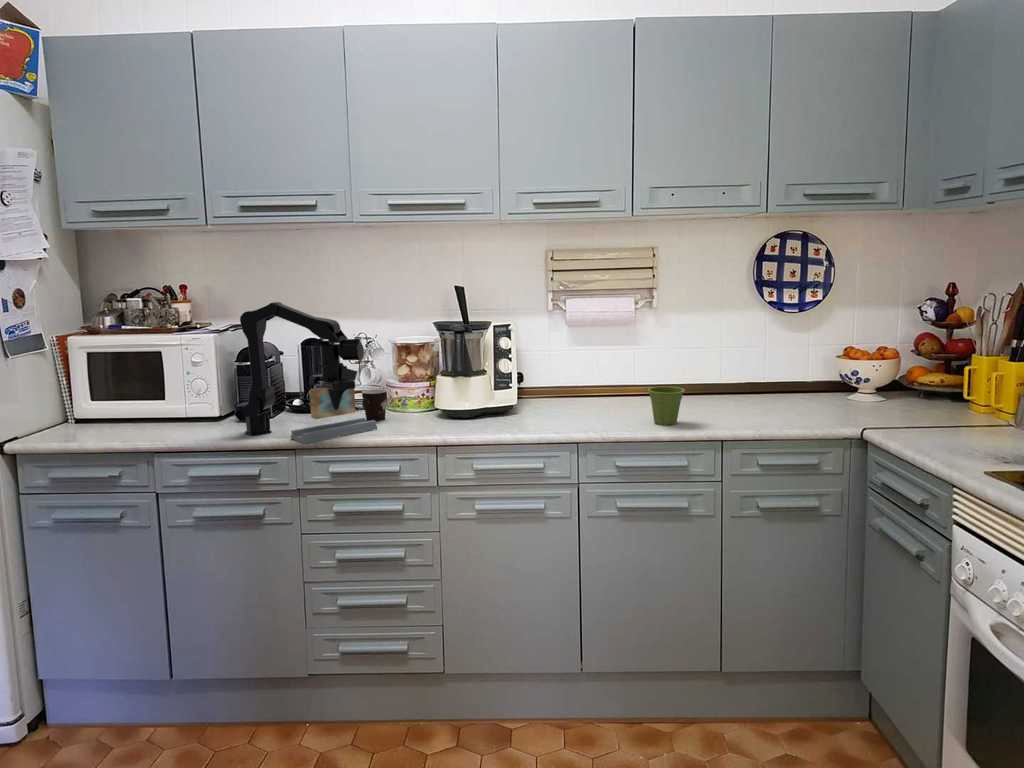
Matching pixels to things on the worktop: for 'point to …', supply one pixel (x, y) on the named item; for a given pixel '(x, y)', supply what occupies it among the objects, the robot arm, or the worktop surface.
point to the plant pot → (665, 404)
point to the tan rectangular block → (330, 403)
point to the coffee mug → (374, 404)
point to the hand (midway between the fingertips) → (333, 408)
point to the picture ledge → (332, 430)
